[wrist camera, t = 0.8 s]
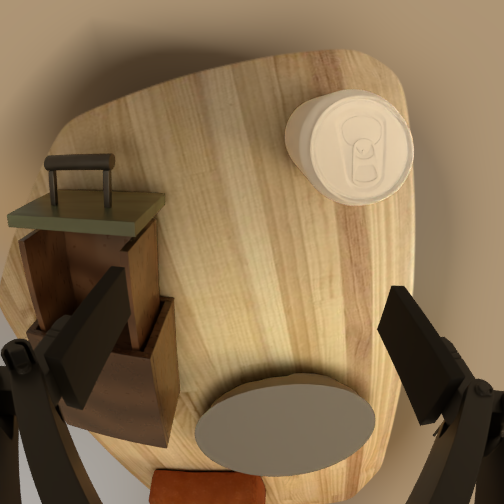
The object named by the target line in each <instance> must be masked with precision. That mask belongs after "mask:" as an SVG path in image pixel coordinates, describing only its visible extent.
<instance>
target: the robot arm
mask: <svg viewBox="0 0 504 504" xmlns="http://www.w3.org/2000/svg"><path fill="white" fill-rule="evenodd" d="M130 315H131V309H130V303H129V296H128V288H127V281H126V272H125V267H116V266H111V267H110V268H109V269H108V270H107V272H106V273H105V274H104V275H103V276H102V278H101V279H100V280H99V281H98V283H97V284H96V285H95V286H94V288H93V289H92V290H91V291H90V293H89V294H88V295H87V296H86V298H85V299H84V300H83V301H82V303H81V304H80V305H79V307H78V308H77V309H76V311H75V312H74V313H73V315H72V316H70V315H64V316H62V317H61V318H59V319H58V320H56V321H55V323H54V324H53V325H52V326H51V328H50V330H48V332H47V333H46V336H44V337H43V338H42V340H41V341H40V342H39V344H38V345H37V346H36V348H35V349H34V350H33V348H32V346H31V344H30V342H29V341H27V340H26V339H14V340H12V341H10V342H8V343H7V344H6V345H4V347H3V349H2V350H1V356H2V358H3V361H4V362H5V364H6V366H0V504H22V503H21V493H20V479H19V457H18V456H19V454H18V453H19V451H18V439H19V438H18V437H19V431H20V435H21V439H22V443H23V447H24V451H25V454H26V458H27V461H28V465H29V468H30V471H31V474H32V477H33V480H34V483H35V486H36V489H37V491H38V494H39V497H40V500H41V502H42V504H103V503H102V502H101V500H100V498H99V496H98V494H97V492H96V490H95V488H94V487H93V484H92V482H91V480H90V479H89V477H88V474H87V473H86V470H85V468H84V466H83V464H82V461H81V459H80V457H79V455H78V452H77V450H76V447H75V445H74V443H73V440H72V438H71V435H70V433H69V430H68V427H67V425H66V422H65V419H64V417H63V414H62V411H61V408H60V406H59V404H58V403H59V401H60V399H61V397H62V398H63V400H64V402H65V404H66V406H69V407H72V408H76V409H79V410H83V409H84V407H85V405H86V403H87V400H88V398H89V396H90V394H91V392H92V390H93V388H94V386H95V384H96V381H97V379H98V377H99V375H100V373H101V371H102V369H103V367H104V365H105V363H106V361H107V359H108V357H109V355H110V353H111V351H112V349H113V347H114V346H115V344H116V342H117V340H118V338H119V336H120V334H121V332H122V330H123V328H124V326H125V325H126V323H127V321H128V319H129V317H130ZM377 330H378V332H379V334H380V336H381V338H382V340H383V343H384V345H385V347H386V349H387V351H388V353H389V355H390V357H391V360H392V362H393V364H394V366H395V368H396V371H397V373H398V375H399V377H400V379H401V382H402V384H403V386H404V388H405V391H406V393H407V395H408V398H409V400H410V402H411V405H412V407H413V409H414V412H415V414H416V416H417V419H418V421H419V424H420V426H421V425H426V424H431V423H435V422H436V420H437V419H438V418H439V416H440V415H441V413H442V415H443V418H444V421H443V422H442V424H441V425H440V426H439V428H438V429H437V430H436V431H435V433H434V434H433V436H435V435H436V434H437V433H438V434H437V436H436V439H435V441H434V444H433V446H432V449H431V451H430V454H429V456H428V458H427V461H426V463H425V465H424V468H423V470H422V472H421V474H420V476H419V478H418V480H417V482H416V484H415V486H414V488H413V491H412V492H411V495H410V496H409V498H408V500H407V502H406V504H469V502H470V499H471V496H472V493H473V490H474V487H475V484H476V492H475V503H474V504H504V391H496V390H493V388H492V386H491V385H490V384H489V383H488V382H486V381H484V380H481V379H475V377H474V376H473V374H472V373H471V371H470V370H469V368H468V366H467V365H466V363H465V362H464V360H463V359H461V356H460V355H459V353H457V350H456V348H455V347H454V346H453V344H452V343H451V342H450V341H449V340H447V339H446V338H445V337H440V336H439V334H438V333H437V331H436V330H435V329H434V327H433V326H432V324H431V323H430V321H429V320H428V318H427V317H426V316H425V314H424V313H423V311H422V310H421V308H420V307H419V306H418V304H417V303H416V302H415V300H414V299H413V297H412V296H411V295H410V293H409V292H408V291H407V289H406V288H405V287H404V286H391V289H390V292H389V295H388V298H387V302H386V305H385V308H384V311H383V314H382V317H381V320H380V323H379V326H378V328H377Z"/></svg>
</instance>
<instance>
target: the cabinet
mask: <svg viewBox="0 0 504 504" xmlns="http://www.w3.org/2000/svg"><path fill="white" fill-rule="evenodd" d="M160 311H161V312H160V314H159V317H158V319H157V321H156V324H155V326H154V328H153V331H152V333H151V336H150V338H149V340H148V343H147V345H146V348H145V350H144V352H140V351H134V350H128V349H122V348H117V347H113V349H112V351H111V353H110V355H109V357H108V359H107V361H106V363H105V365H104V367H103V369H102V371H101V373H100V375H99V377H98V379H97V381H96V384H95V386H94V388H93V390H92V392H91V394H90V396H89V398H88V400H87V403H86V405H85V407H84V409H83V410H79V409H76V408H72V407H69V406H66V404H65V402H64V400H63V398H62V397H61V399H60V401H59V403H58V404H59V406H60V408H61V411H62V414H63V417H64V419H65V421H66V423H67V424H69V425H72V426H75V427H78V428H81V429H85V430H88V431H92V432H95V433H99V434H102V435H106V436H110V437H114V438H118V439H122V440H127V441H131V442H136V443H140V444H145V445H150V446H156V447H161V448H167V446H168V442H169V437H170V433H171V428H172V424H173V419H174V415H175V410H176V406H177V402H178V397H179V393H180V384H179V373H178V361H177V347H176V331H175V312H174V298H170V297H161V296H160ZM46 333H47V332H44V331H41V329H40V326H39V323H38V319H37V320H36V321H35V322H34V323H33V324H32V325H31V327H30V328H29V329H28V330H27V332H26V334H27V337H28V339H29V342H30V344H31V346H32V348H33V350H34V349H35V348H36V346H37V345H38V344H39V342H40V341H41V340H42V338H43V337H44V336H46Z"/></svg>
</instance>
